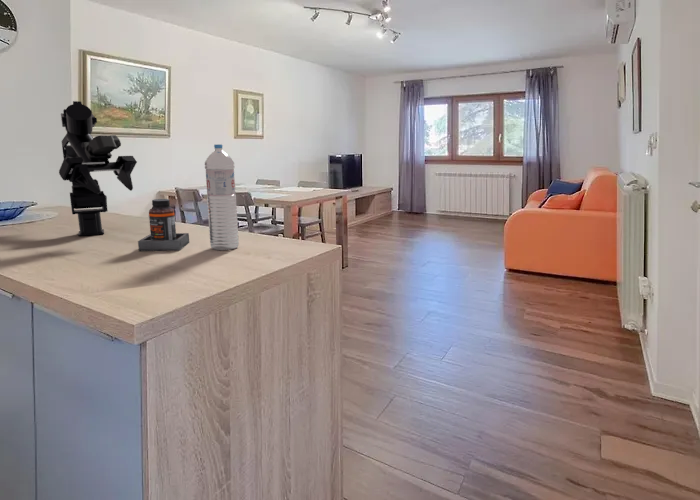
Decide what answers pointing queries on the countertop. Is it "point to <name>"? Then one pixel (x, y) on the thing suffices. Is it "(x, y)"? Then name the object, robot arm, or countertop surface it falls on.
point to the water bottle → (221, 200)
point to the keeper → (164, 243)
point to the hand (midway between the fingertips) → (115, 190)
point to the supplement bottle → (162, 220)
